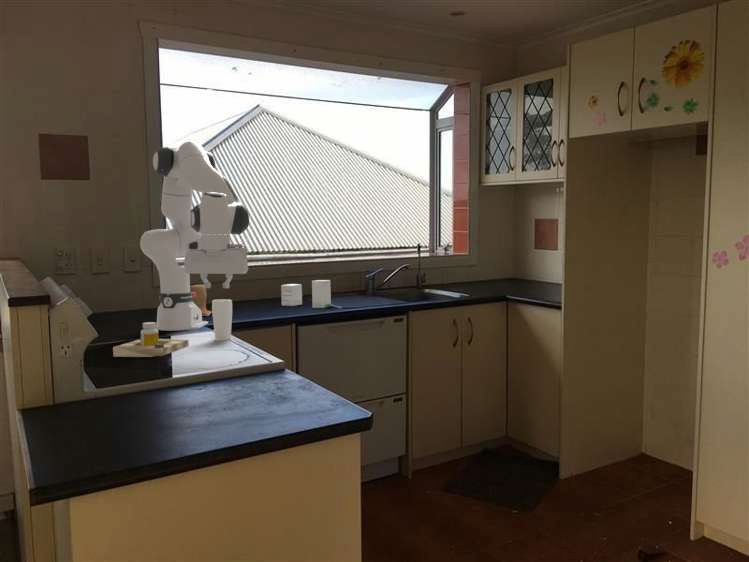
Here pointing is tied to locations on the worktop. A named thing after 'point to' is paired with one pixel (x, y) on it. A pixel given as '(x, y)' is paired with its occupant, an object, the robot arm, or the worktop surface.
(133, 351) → the cream square tray
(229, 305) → the drinking glass
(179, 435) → the worktop surface
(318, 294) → the skincare box
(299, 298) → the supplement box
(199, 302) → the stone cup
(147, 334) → the supplement bottle
